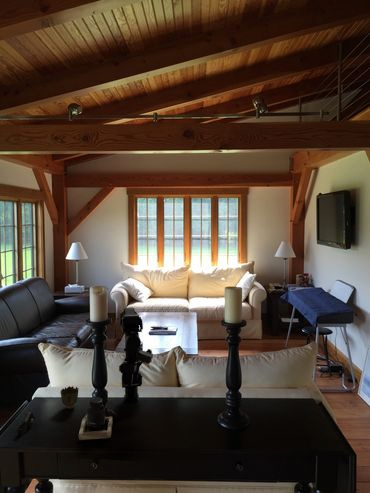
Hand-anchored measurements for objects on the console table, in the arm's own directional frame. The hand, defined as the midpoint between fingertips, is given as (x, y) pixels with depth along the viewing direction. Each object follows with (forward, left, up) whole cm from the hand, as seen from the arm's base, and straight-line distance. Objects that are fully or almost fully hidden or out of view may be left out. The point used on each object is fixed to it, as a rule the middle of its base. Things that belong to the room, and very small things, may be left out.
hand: (132, 383), depth 162 cm
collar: (+12, -14, -13) cm, 22 cm away
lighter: (+7, -40, -13) cm, 43 cm away
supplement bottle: (+12, -14, -13) cm, 22 cm away
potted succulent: (-8, -27, -13) cm, 31 cm away
